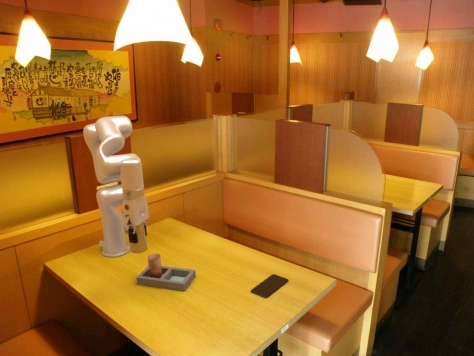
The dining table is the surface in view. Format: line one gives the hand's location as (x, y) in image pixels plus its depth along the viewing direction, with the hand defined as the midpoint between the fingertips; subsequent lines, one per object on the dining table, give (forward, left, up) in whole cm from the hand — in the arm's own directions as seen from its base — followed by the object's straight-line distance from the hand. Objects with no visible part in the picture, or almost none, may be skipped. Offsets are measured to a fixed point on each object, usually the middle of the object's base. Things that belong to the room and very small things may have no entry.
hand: (138, 238), depth 142 cm
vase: (0, 0, -5) cm, 5 cm away
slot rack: (+6, +8, -21) cm, 24 cm away
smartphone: (+47, +14, -22) cm, 53 cm away
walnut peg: (+1, +8, -21) cm, 23 cm away
